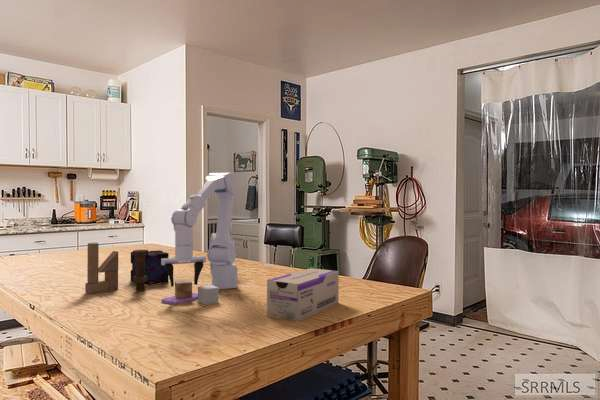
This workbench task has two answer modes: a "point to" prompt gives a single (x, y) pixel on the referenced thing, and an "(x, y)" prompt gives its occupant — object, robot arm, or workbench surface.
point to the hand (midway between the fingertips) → (184, 285)
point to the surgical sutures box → (302, 293)
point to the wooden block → (107, 266)
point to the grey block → (208, 294)
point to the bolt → (140, 269)
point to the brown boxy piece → (183, 289)
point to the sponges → (179, 299)
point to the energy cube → (152, 267)
